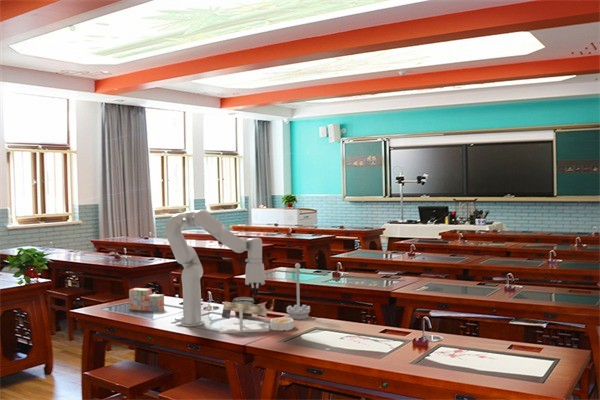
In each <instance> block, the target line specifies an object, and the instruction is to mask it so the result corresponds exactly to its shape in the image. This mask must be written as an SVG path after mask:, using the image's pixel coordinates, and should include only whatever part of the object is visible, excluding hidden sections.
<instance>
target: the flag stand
mask: <svg viewBox="0 0 600 400" xmlns="http://www.w3.org/2000/svg"><path fill="white" fill-rule="evenodd" d="M294 268H296V270H295V271H296V304H294V305H293V306H292V305H288V306H287V307H286V313H288V318H292V319H293V320H303V319H308V318H309V313H310V312H311V306H310V305H307V304H302V305H301V303H300V301H301V300H300V293H301V292H300V268H301V264H300V263H298V262H297V263H295V265H294ZM307 317H308V318H307Z"/></svg>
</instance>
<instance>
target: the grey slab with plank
mask: <svg viewBox="0 0 600 400" xmlns="http://www.w3.org/2000/svg"><path fill="white" fill-rule="evenodd" d="M239 309H242V310H243V312H244V313H250V314H252V315H255V316H256V315H257V316H263V317H267V313H268V311H267V308H264V307H261V305H260V304H254V303H253V304H251V306H248V305H242V304H236V303H234V302H230V301H229V302H228V301H224V303H223V308H222V312H221V318H223V319H228V320H231V319H230V318H231V317H230V316H231V312H232V311H234V312H235V311H238V312H239Z"/></svg>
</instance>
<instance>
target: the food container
mask: <svg viewBox="0 0 600 400" xmlns="http://www.w3.org/2000/svg"><path fill="white" fill-rule="evenodd" d="M232 303H236V304H242V305H248V306H251V304H254V303H255V300H254V297H250V296H249V297H247V296H240V297H235V298H233V300H232ZM234 316H235V318H239V312H238V311H234ZM252 317H253V314H250V313H244V312H243V318H252Z"/></svg>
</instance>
